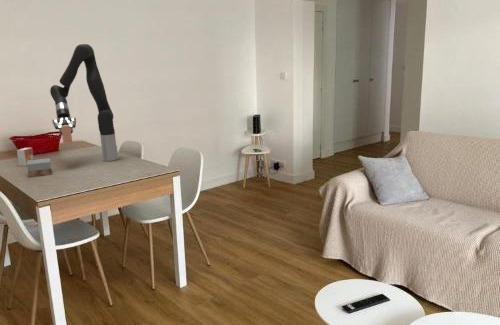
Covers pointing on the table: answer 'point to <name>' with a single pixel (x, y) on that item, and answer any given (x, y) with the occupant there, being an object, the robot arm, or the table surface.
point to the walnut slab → (40, 172)
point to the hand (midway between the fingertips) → (66, 133)
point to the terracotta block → (66, 134)
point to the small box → (25, 156)
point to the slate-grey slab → (39, 164)
